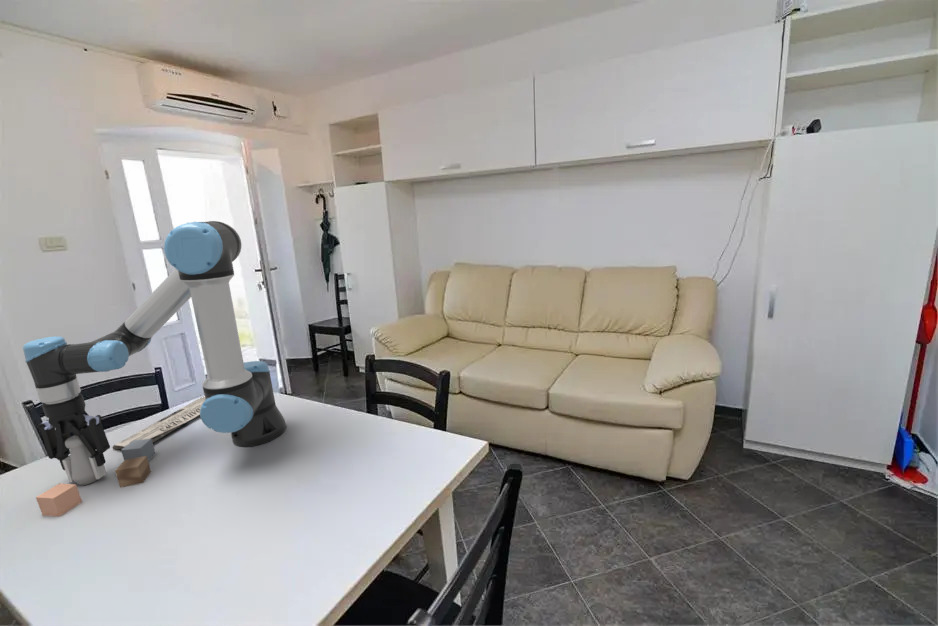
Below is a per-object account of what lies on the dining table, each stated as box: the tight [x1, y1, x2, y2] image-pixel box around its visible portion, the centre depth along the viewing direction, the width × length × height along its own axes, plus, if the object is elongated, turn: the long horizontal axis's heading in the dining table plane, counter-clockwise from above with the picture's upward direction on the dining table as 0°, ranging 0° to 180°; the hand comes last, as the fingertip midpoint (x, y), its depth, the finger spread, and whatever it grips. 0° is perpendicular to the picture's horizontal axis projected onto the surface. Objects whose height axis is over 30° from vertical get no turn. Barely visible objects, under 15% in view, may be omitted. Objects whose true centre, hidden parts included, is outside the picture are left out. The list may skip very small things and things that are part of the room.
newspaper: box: [112, 395, 205, 451], centre depth 139 cm, size 35×12×4 cm, turn 168°
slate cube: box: [120, 439, 157, 461], centre depth 118 cm, size 5×5×5 cm
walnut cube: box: [114, 456, 152, 488], centre depth 109 cm, size 5×5×5 cm
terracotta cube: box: [35, 483, 83, 517], centre depth 99 cm, size 5×5×5 cm
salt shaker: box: [65, 434, 98, 486], centre depth 109 cm, size 6×6×13 cm
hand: (88, 477), depth 110 cm, fingers closed on salt shaker, 6 cm apart
